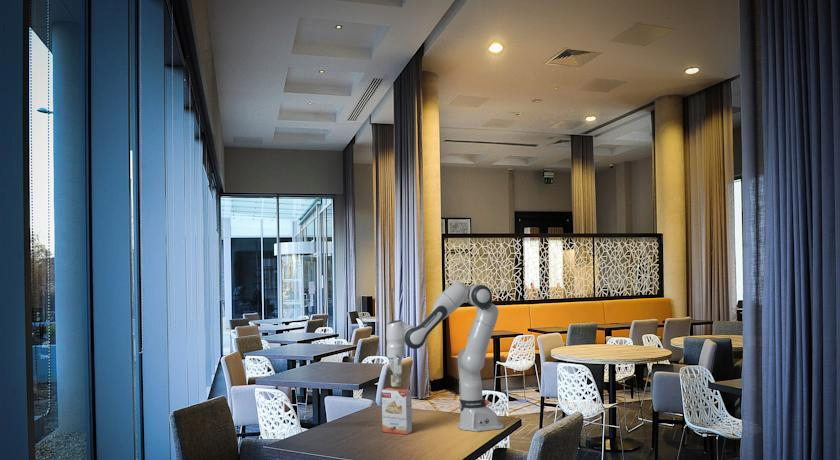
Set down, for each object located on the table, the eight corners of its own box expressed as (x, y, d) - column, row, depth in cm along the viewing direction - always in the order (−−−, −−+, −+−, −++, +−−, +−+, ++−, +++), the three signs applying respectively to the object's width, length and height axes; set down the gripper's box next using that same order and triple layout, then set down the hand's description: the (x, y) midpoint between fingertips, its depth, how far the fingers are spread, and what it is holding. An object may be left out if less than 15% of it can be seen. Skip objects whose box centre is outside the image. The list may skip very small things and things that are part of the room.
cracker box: (381, 432, 309) (381, 389, 311) (388, 429, 315) (387, 387, 316) (406, 435, 303) (405, 391, 305) (412, 432, 308) (411, 389, 310)
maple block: (400, 384, 313) (399, 374, 314) (401, 386, 309) (400, 375, 309) (391, 385, 312) (390, 374, 313) (392, 386, 308) (391, 376, 308)
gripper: (404, 355, 302) (405, 384, 301) (399, 350, 322) (400, 378, 321) (391, 356, 301) (392, 385, 300) (387, 351, 321) (387, 378, 320)
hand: (396, 381), depth 311 cm, fingers closed on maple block, 4 cm apart
